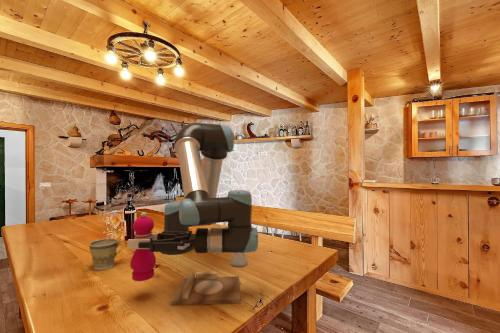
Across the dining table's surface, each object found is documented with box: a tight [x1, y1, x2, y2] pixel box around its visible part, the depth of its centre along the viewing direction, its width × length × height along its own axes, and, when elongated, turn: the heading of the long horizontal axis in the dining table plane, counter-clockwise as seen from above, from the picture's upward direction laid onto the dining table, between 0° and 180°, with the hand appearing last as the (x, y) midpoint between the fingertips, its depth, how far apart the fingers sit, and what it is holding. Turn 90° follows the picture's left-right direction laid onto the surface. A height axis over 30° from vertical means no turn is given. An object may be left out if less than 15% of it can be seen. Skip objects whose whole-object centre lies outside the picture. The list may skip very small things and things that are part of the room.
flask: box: [230, 253, 248, 268], centre depth 101 cm, size 7×7×10 cm
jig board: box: [170, 271, 241, 306], centre depth 78 cm, size 20×15×3 cm
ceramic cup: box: [88, 237, 127, 271], centre depth 98 cm, size 13×10×10 cm
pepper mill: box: [129, 211, 157, 282], centre depth 75 cm, size 7×7×20 cm
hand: (132, 241), depth 74 cm, fingers closed on pepper mill, 5 cm apart
